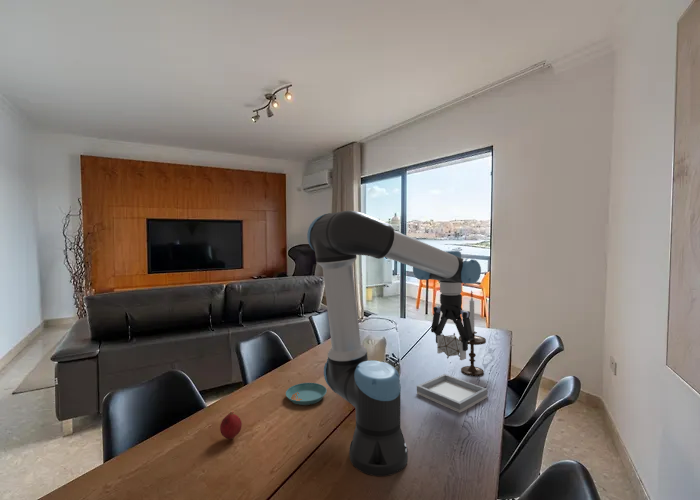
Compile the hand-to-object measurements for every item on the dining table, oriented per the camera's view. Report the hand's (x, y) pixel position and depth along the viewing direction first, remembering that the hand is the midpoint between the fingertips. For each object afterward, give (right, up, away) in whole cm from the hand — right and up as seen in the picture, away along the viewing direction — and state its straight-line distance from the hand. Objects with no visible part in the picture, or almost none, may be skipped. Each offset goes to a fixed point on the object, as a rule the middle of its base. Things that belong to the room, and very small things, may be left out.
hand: (451, 355), depth 121 cm
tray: (0, -14, 0) cm, 14 cm away
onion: (-71, -16, -24) cm, 77 cm away
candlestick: (+15, -14, +21) cm, 30 cm away
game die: (0, 0, 0) cm, 1 cm away
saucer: (-52, -16, +1) cm, 55 cm away
